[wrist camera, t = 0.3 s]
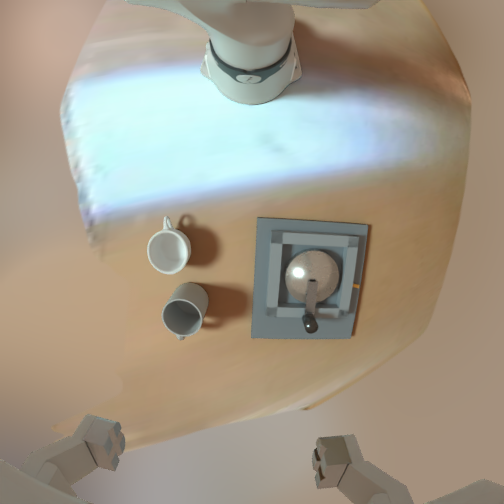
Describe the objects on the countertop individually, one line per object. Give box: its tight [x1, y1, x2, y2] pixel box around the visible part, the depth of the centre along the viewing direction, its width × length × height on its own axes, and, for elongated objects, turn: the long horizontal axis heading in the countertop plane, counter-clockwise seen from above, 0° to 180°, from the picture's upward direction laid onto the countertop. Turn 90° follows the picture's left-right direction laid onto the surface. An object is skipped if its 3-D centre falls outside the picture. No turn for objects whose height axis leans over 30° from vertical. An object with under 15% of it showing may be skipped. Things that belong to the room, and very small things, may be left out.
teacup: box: [147, 216, 191, 274], centre depth 53 cm, size 10×8×5 cm
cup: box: [162, 283, 209, 340], centre depth 54 cm, size 7×10×9 cm
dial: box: [284, 249, 339, 334], centre depth 53 cm, size 14×10×6 cm
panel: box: [251, 217, 368, 339], centre depth 55 cm, size 24×21×3 cm
